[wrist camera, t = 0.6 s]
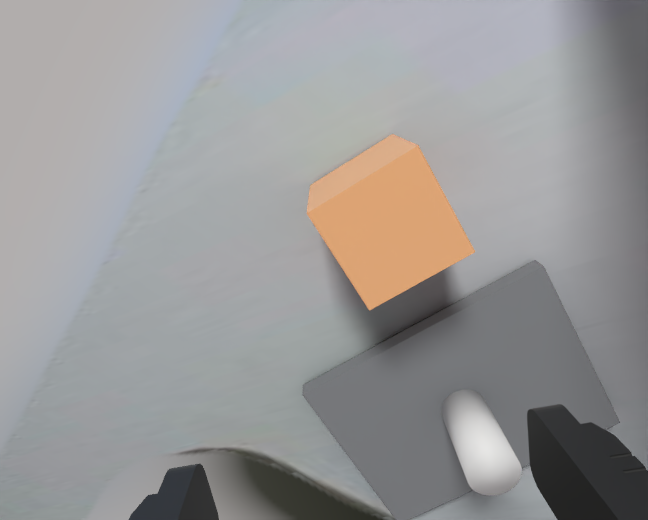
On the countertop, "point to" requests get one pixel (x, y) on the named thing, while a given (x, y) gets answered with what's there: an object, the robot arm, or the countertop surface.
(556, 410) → the robot arm
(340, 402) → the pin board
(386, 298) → the peach foam cube
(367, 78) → the countertop surface
